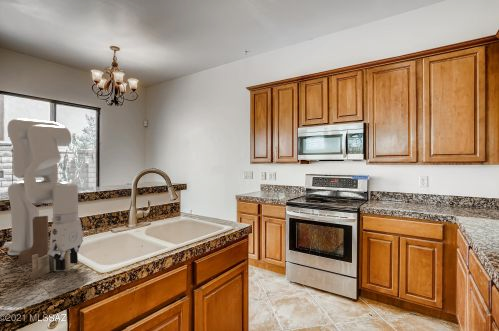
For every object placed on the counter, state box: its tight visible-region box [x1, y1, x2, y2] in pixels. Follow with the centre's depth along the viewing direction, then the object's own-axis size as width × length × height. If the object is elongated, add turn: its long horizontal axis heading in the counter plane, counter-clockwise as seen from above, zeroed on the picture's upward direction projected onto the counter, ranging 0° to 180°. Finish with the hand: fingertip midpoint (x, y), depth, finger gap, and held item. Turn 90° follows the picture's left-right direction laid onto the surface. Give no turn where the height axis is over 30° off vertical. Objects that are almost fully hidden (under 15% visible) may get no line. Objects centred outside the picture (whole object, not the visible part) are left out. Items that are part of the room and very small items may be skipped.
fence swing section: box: [54, 250, 71, 273], centre depth 95 cm, size 6×2×8 cm, turn 85°
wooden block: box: [18, 215, 50, 265], centre depth 105 cm, size 9×4×18 cm, turn 122°
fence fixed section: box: [31, 247, 54, 280], centre depth 93 cm, size 8×2×9 cm, turn 173°
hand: (67, 266), depth 95 cm, fingers open, 4 cm apart
